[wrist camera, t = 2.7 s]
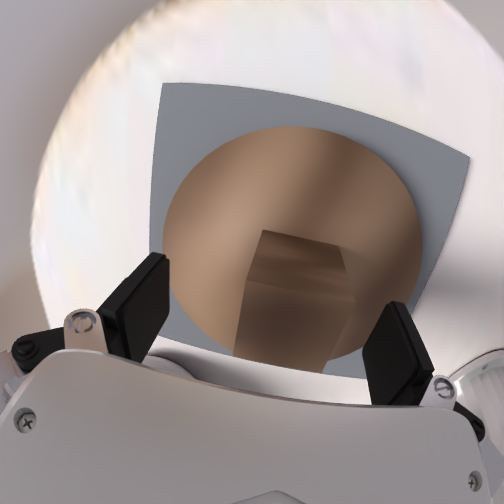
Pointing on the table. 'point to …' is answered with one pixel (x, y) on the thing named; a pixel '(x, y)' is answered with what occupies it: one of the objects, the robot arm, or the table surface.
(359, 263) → the walnut lid
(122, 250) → the table surface
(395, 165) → the slate mat
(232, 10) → the table surface
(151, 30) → the table surface
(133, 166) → the table surface
